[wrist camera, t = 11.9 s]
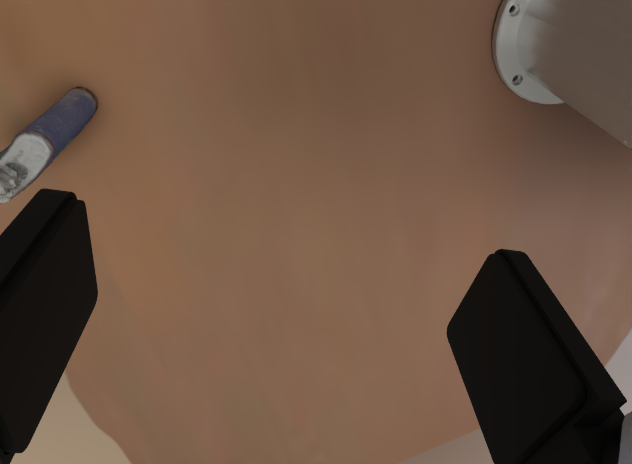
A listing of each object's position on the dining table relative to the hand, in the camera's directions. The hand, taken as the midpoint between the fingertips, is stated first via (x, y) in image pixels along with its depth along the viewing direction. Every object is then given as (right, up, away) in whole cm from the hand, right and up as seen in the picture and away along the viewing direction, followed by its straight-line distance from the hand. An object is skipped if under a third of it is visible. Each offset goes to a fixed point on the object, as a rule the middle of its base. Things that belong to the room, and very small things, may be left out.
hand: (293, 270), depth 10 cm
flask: (-22, +10, +27) cm, 36 cm away
